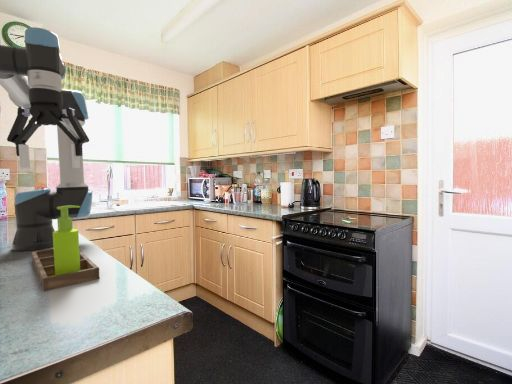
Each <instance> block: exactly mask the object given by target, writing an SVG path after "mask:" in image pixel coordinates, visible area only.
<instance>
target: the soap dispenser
mask: <svg viewBox="0 0 512 384" xmlns="http://www.w3.org/2000/svg"><path fill="white" fill-rule="evenodd" d="M68 208H80V206H75V205H66V206H60V207H57V209H61V217H60V218H59V219H56V220H57V230H55V231H54V232H53V246H52V247H53V248H52V249H54V264H55V276H56V275H61V274H66V273H71V272H76V271H80V254H79V250H80V240H79V239H80V238H79V229H78V228H77V229H76V228H73V224H74V223H73V218H71V217H68Z"/></svg>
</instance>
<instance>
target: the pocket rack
mask: <svg viewBox="0 0 512 384" xmlns="http://www.w3.org/2000/svg"><path fill="white" fill-rule="evenodd" d="M79 254H80V271H76V272H71V273H66V274H61V275H56V276H55V264H54V248H49V249H48V248H46V249H40V250H36V251H34V250H33V251H31V261H32V263H33V265H34V269H35V272H36V274H37V276H38V279H39V281H40V284H41V287H42V290H43V292H46V291H51V290H55V289H59V288H63V287H68V285H69V286H72V284H73V285H77V284H81V282H82V283H86V282H89V281H94V280H99V279H101V278H100V267H99V266H98V265H97V264H95V262H93V261H92V260H91V259H90V258H89V257H88V256H87V255H86V254H85V253H84V252H82V251H81V249H79ZM76 283H77V284H76Z"/></svg>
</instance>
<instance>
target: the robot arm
mask: <svg viewBox="0 0 512 384" xmlns="http://www.w3.org/2000/svg"><path fill="white" fill-rule="evenodd" d="M23 43H24V46H25V48H23V47H17V46H9V45H5V44H4V45H2V44H0V86H1V87H2V88H3V90H5V91H6V92H7V95H8V98H9V99H10V101H11V102H12V103H13V104H14V105H15V106H17V107H18V108H17V116H16V117H15V120H14V122H13V124H12V126H11V129H10V131H9V133H8V136H7V138H6V141H7V142H9V143H13V144H14V145H15V152H16V156H17V157H19V169H31V164H30V163H31V162H30V149H29V144H27V142H28V141H29V140H30V138H31V137H32V136H33V135H34V133H35V132H36V131H37V130H38V129H39V128H40V127H42V126H49V125H50V126H57V127H56V128H57V129H56V131H57V145H58V163H59V165H58V167H59V181H60V182H59V184H58V185H56V187H55V188H56V190H55V191H52V190H51V189H50V188H49V187H47V188H41V189H33V190H27V191H20V192H18V193H16V194H15V196H14V208H15V209H14V211H15V212H14V213H15V223H16V232H15V235H14V237H13V241H12V244H11V246H12V247H11V248H12V250H13V251H17V252H22V251H23V252H25V251H34V250H36V251H38V250H44V249H48V248H51V247H53V232H54V231H56V230H55V227H54V225H53V220H57V219H59V218H60V217H61V209H57V207H60V206H66V205H75V206H80V208H68V217H71V218H72V219H79V218H86V217H88V216H90V214H91V210H92V203H93V190H91V189H89V185H87V184H86V183H85V176H84V158H83V157H84V156H83V155H84V154H83V144H86V143H89V142H90V138H89V137H88V135H87V133H86V132H85V129H84V128H83V126H84V125H85V124H86V120H88V119H89V115H88V113H89V112H88V107H87V104H86V99H85V95H84V93H83V92H82V91H80V90H72V89H64V88H63V82H62V81H63V79H65V77H66V73H67V71H66V65H65V63H64V61H63V58H62V56H61V53H60V52H61V51H60V48H61V46H60V40H59V37H58V35H57V34H56V33H54V32H53V31H51V30H49V29H45V28H42V27H37V26H36V27H35V26H34V27H28V28H26V29H25V30H24V41H23ZM29 117H31V118H30V119H29ZM27 122H28V123H27ZM26 124H27V125H26Z"/></svg>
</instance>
